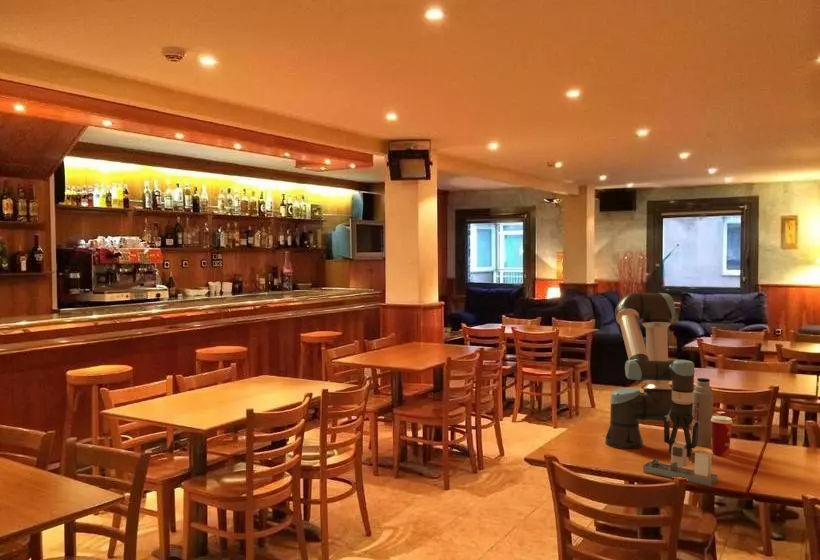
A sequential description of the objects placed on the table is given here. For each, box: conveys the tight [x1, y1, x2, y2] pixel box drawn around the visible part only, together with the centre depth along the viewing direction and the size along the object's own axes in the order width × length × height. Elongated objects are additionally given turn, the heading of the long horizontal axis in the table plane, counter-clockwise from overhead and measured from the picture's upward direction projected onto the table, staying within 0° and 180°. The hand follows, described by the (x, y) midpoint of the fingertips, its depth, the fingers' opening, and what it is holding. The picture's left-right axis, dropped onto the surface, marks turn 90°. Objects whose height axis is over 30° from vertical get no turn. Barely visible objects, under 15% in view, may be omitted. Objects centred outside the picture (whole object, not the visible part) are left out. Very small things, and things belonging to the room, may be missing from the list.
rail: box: [642, 449, 719, 488], centre depth 251 cm, size 24×7×10 cm, turn 50°
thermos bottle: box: [691, 377, 714, 448], centre depth 296 cm, size 8×8×28 cm
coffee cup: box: [711, 415, 734, 458], centre depth 281 cm, size 8×8×15 cm
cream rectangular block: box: [671, 441, 686, 468], centre depth 260 cm, size 6×4×8 cm
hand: (679, 463), depth 261 cm, fingers closed on cream rectangular block, 4 cm apart
